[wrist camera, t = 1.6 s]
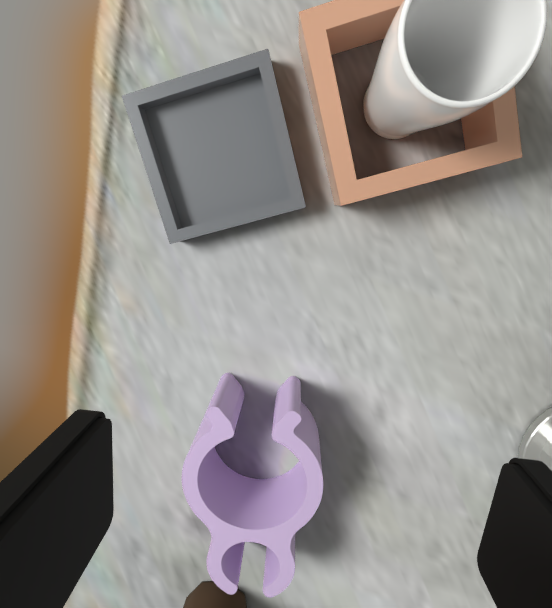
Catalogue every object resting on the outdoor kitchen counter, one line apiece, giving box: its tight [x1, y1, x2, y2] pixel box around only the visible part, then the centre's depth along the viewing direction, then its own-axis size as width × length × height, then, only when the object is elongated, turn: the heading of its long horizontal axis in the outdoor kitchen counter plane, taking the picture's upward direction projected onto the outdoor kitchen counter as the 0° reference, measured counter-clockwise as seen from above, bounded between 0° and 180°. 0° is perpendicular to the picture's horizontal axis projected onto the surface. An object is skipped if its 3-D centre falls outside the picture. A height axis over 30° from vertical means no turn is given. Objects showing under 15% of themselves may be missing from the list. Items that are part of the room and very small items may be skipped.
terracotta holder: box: [299, 0, 522, 206], centre depth 30 cm, size 13×13×6 cm
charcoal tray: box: [122, 49, 306, 244], centre depth 33 cm, size 12×12×2 cm
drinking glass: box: [363, 0, 547, 139], centre depth 25 cm, size 7×7×15 cm
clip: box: [182, 373, 323, 597], centre depth 38 cm, size 20×12×7 cm, turn 178°
